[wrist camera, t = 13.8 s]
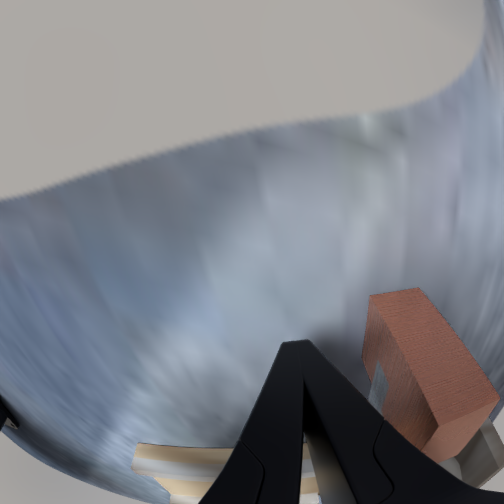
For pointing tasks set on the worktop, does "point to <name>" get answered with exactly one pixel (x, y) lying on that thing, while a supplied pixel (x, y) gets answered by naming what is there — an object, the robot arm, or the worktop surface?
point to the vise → (213, 460)
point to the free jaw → (423, 375)
